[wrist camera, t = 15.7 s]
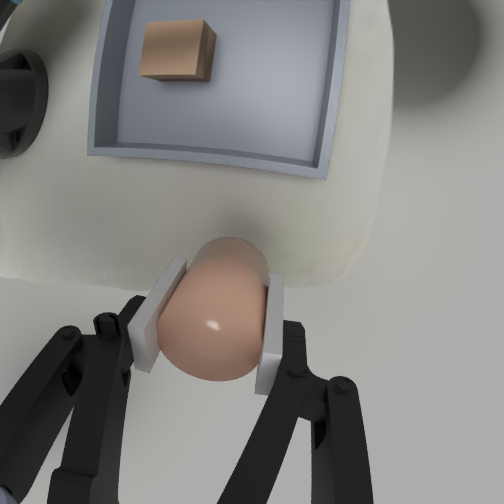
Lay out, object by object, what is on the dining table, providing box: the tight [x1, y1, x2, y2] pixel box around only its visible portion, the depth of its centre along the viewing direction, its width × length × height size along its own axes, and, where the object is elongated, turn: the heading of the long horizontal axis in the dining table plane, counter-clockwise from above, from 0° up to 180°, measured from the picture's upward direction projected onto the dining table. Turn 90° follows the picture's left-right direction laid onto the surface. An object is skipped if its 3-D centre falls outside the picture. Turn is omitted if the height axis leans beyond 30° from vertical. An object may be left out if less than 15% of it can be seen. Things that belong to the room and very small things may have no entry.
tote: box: [87, 0, 350, 180], centre depth 22 cm, size 22×20×5 cm
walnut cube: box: [139, 19, 217, 82], centre depth 22 cm, size 5×5×5 cm
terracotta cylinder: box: [156, 237, 269, 381], centre depth 16 cm, size 5×5×7 cm
